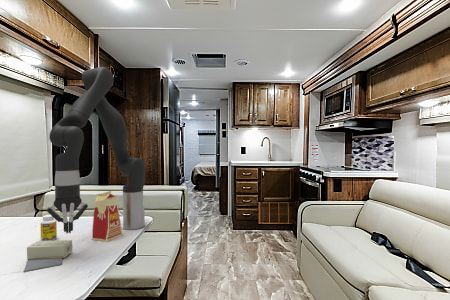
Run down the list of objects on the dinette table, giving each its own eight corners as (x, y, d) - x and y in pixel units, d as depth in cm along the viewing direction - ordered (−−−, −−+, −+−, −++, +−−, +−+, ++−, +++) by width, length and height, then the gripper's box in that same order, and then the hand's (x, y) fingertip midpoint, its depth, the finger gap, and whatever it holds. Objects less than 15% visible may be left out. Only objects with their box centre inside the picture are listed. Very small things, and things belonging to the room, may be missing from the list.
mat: (62, 251, 99) (62, 250, 99) (61, 264, 88) (61, 263, 88) (28, 257, 94) (28, 256, 94) (23, 272, 83) (23, 270, 83)
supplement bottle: (40, 243, 108) (40, 218, 107) (40, 239, 112) (40, 215, 112) (56, 240, 111) (56, 216, 111) (56, 237, 115) (56, 213, 115)
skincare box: (72, 251, 98) (37, 253, 97) (72, 239, 98) (37, 240, 97) (64, 258, 92) (26, 260, 91) (64, 245, 92) (26, 247, 91)
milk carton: (122, 235, 117) (122, 189, 117) (107, 242, 108) (106, 192, 108) (105, 233, 120) (105, 188, 120) (89, 239, 111) (88, 191, 111)
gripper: (88, 180, 101) (88, 226, 101) (45, 183, 94) (46, 232, 94) (89, 183, 94) (90, 232, 94) (44, 186, 87) (45, 239, 88)
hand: (68, 232), depth 94 cm, fingers closed
